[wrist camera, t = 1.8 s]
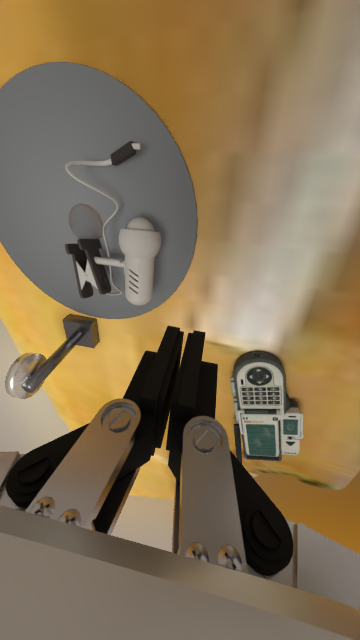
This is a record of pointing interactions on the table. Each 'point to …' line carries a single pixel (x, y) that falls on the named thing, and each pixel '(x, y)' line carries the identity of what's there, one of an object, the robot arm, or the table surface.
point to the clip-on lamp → (133, 241)
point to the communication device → (264, 409)
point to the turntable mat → (78, 199)
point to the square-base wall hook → (35, 368)
